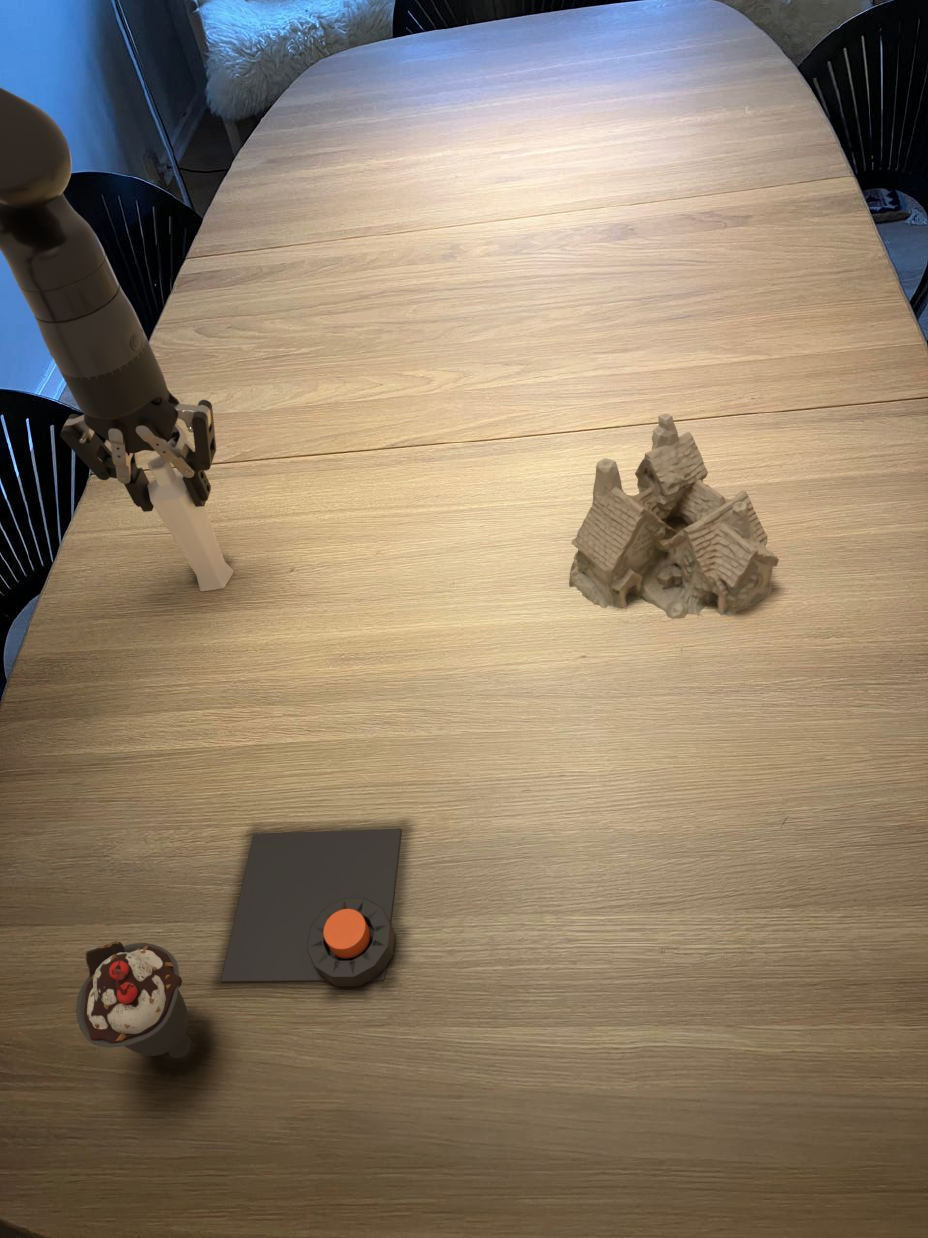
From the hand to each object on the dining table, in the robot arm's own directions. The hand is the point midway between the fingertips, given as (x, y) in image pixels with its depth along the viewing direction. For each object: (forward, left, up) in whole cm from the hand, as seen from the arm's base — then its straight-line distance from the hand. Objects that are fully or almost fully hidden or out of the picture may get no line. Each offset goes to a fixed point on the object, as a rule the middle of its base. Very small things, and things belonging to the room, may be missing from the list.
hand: (176, 502), depth 97 cm
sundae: (+9, -47, -11) cm, 49 cm away
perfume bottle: (0, 0, -11) cm, 11 cm away
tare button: (+21, -40, -8) cm, 46 cm away
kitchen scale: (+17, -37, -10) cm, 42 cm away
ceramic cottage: (+45, -5, -11) cm, 46 cm away
